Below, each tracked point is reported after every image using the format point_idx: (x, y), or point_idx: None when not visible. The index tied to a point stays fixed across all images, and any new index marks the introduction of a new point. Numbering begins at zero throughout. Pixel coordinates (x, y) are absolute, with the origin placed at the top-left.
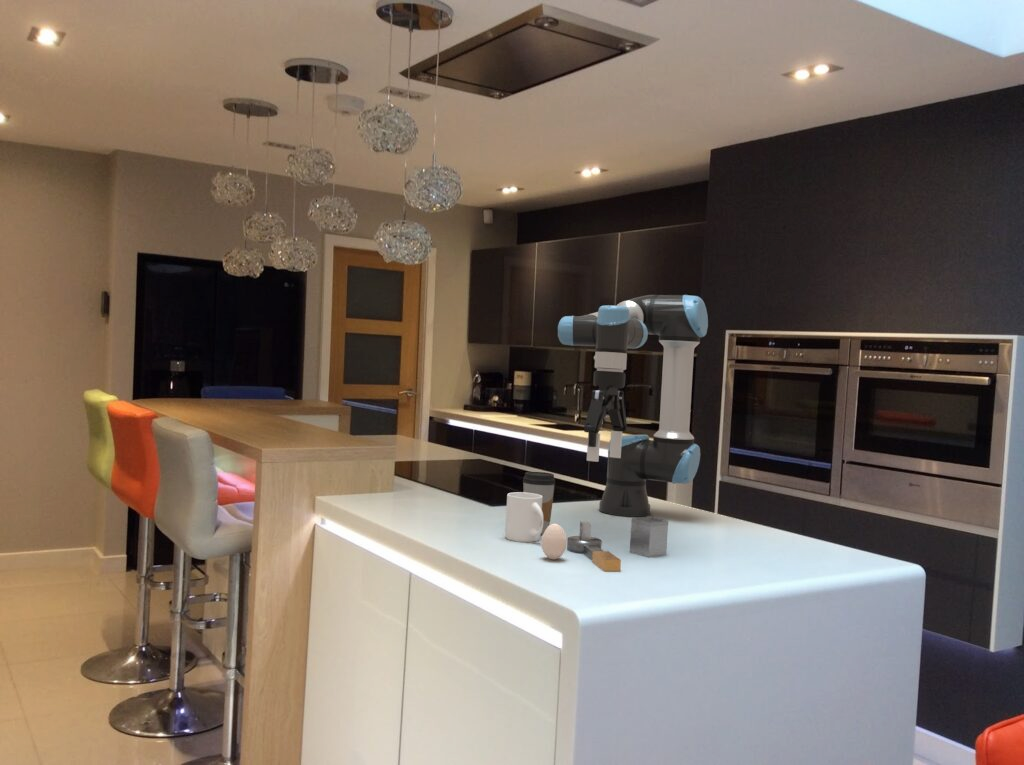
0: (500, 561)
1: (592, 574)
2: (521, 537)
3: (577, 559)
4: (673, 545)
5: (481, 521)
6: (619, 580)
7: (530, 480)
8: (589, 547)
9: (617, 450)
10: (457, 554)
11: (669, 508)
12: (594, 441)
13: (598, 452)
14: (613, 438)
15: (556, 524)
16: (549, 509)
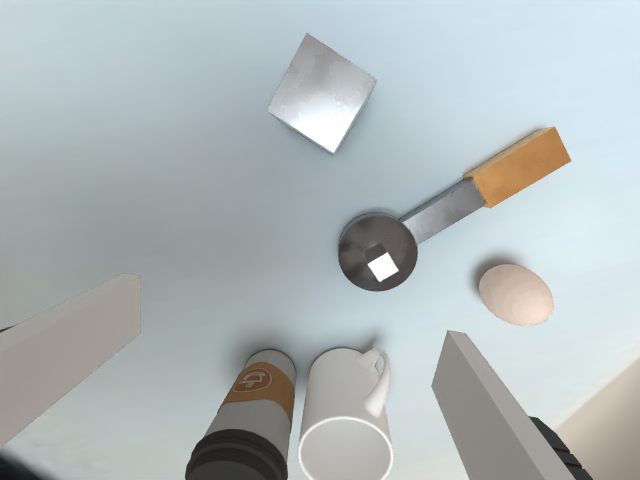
0: (558, 355)
1: (591, 176)
2: (378, 375)
3: (469, 237)
4: (195, 75)
5: None
6: (623, 111)
7: None
8: (434, 228)
9: (107, 310)
10: None
11: None
12: (565, 458)
13: (480, 365)
14: (34, 396)
15: (544, 308)
16: (266, 382)
